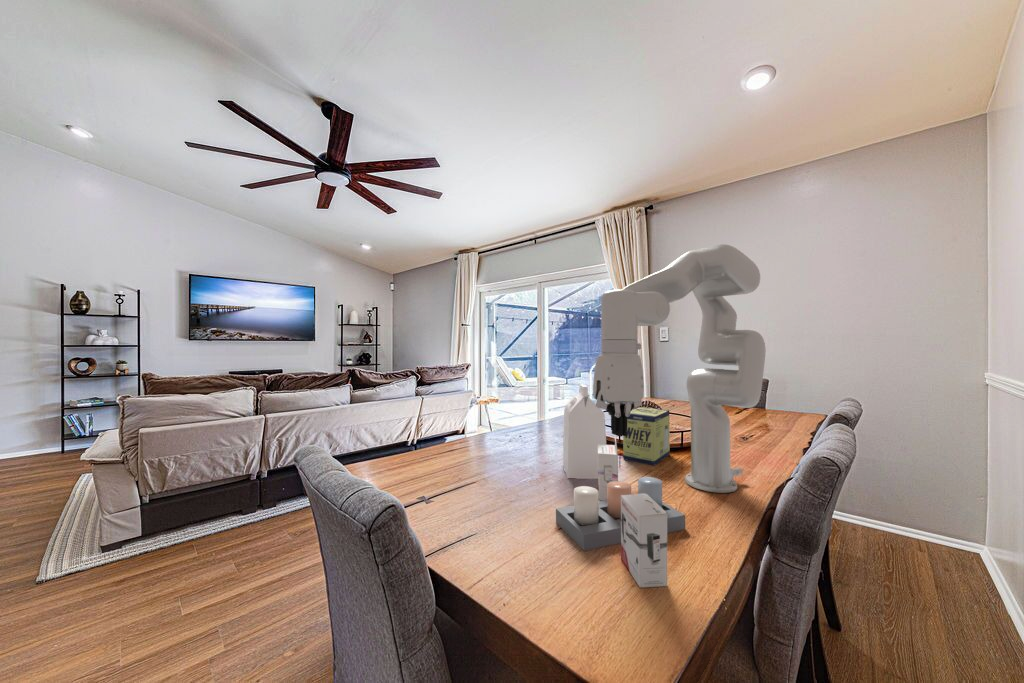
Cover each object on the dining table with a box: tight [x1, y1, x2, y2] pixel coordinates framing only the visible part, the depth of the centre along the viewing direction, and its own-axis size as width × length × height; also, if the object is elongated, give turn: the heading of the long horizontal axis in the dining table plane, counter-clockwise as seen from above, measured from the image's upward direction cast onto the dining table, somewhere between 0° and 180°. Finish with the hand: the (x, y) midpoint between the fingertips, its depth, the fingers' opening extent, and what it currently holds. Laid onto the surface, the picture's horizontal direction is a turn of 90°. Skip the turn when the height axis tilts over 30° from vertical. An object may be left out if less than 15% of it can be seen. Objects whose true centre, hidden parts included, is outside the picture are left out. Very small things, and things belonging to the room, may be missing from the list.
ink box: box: [620, 493, 668, 588], centre depth 64 cm, size 9×5×12 cm, turn 5°
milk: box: [562, 383, 607, 480], centre depth 114 cm, size 12×12×26 cm
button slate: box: [637, 476, 663, 508], centre depth 83 cm, size 5×5×6 cm
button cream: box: [573, 485, 599, 526], centre depth 77 cm, size 5×5×6 cm
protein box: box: [622, 406, 671, 466], centre depth 127 cm, size 10×16×16 cm
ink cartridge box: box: [597, 434, 619, 501], centre depth 97 cm, size 9×5×15 cm, turn 168°
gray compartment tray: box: [555, 500, 686, 552], centre depth 80 cm, size 24×12×3 cm, turn 109°
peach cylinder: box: [607, 480, 632, 520], centre depth 80 cm, size 5×5×6 cm
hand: (619, 434), depth 80 cm, fingers closed
